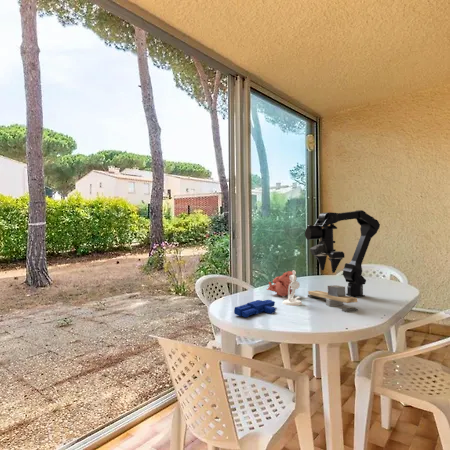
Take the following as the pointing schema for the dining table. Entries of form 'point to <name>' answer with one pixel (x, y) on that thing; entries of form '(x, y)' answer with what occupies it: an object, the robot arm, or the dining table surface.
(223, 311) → the dining table surface
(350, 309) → the stand
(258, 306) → the toy gun
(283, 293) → the anatomical model
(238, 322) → the dining table surface
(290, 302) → the figurine
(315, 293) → the beam
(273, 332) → the dining table surface
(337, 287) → the block
